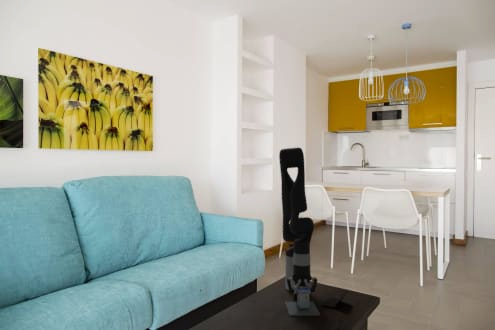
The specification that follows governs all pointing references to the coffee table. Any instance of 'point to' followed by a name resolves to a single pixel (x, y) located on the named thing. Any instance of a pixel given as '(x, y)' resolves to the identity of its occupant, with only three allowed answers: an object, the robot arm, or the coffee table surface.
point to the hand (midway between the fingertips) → (301, 301)
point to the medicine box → (303, 297)
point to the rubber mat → (302, 309)
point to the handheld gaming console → (332, 302)
